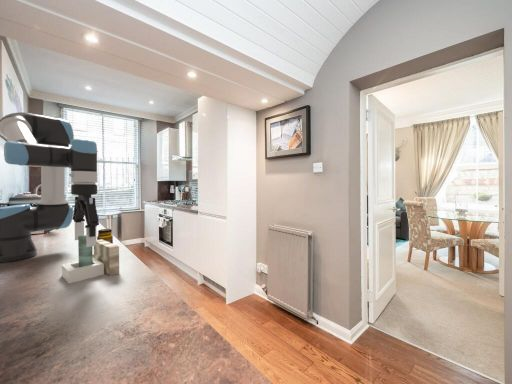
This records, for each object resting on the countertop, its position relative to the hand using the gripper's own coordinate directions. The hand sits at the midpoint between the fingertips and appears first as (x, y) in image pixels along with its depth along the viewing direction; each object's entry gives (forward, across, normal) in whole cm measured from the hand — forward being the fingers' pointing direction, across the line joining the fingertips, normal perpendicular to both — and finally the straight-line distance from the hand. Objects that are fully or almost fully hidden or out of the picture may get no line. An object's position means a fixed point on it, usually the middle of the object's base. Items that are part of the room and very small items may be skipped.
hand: (85, 242), depth 83 cm
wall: (+12, 0, +6) cm, 13 cm away
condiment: (+12, -20, +12) cm, 27 cm away
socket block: (+12, 0, -1) cm, 12 cm away
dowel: (+12, +1, 0) cm, 12 cm away
